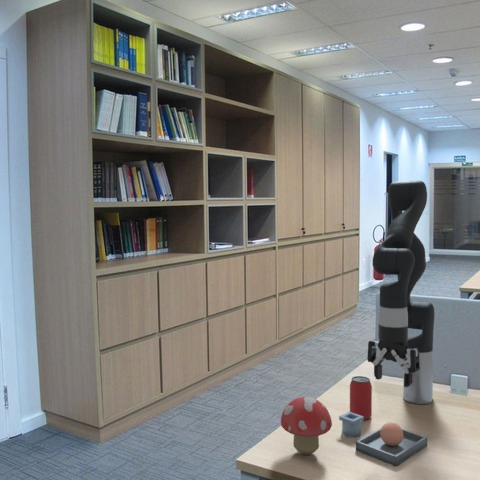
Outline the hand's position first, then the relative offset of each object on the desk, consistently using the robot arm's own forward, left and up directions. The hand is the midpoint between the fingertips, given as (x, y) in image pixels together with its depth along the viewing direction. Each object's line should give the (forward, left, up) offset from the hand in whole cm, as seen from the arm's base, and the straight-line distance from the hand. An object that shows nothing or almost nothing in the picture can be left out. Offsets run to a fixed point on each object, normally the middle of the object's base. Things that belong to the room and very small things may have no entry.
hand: (392, 382), depth 140 cm
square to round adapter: (0, -13, -18) cm, 22 cm away
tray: (0, 0, -18) cm, 18 cm away
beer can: (-12, -18, -18) cm, 28 cm away
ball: (0, 0, -17) cm, 17 cm away
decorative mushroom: (+19, -14, -18) cm, 30 cm away
